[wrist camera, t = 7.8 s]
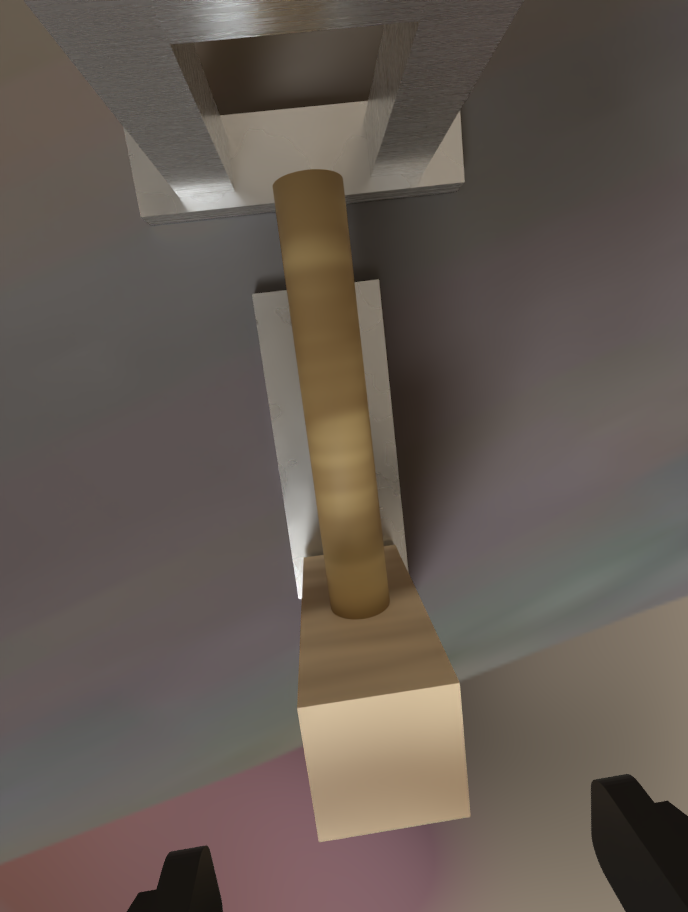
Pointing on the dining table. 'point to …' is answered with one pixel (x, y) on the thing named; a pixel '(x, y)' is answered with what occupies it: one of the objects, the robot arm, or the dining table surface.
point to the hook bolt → (358, 568)
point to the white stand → (288, 160)
